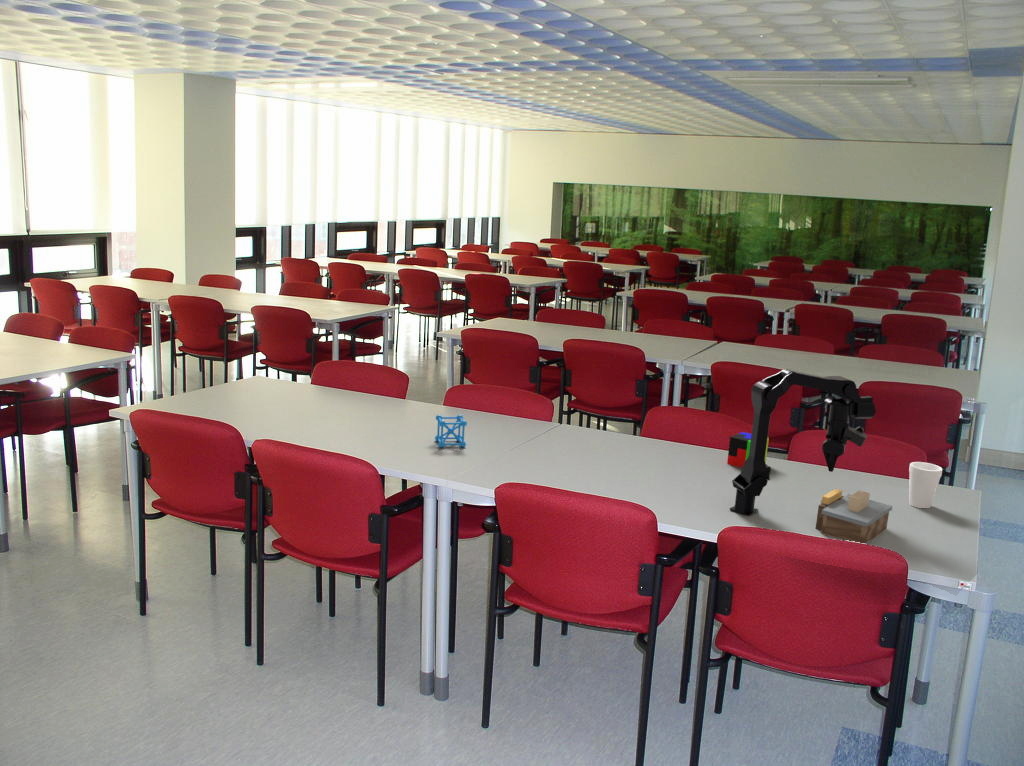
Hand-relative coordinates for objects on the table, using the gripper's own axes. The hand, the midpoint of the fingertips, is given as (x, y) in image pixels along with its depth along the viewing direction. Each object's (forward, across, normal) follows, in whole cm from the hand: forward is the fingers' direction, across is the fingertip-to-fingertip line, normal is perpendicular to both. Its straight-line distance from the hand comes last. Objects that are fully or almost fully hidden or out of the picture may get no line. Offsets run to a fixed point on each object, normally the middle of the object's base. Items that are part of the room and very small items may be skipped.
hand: (832, 467), depth 277 cm
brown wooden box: (+13, -15, -8) cm, 22 cm away
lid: (+8, -15, -7) cm, 18 cm away
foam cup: (+14, +21, -27) cm, 37 cm away
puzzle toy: (+14, +34, +30) cm, 47 cm away
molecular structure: (+13, -5, +129) cm, 130 cm away
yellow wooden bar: (+6, -13, -2) cm, 14 cm away
